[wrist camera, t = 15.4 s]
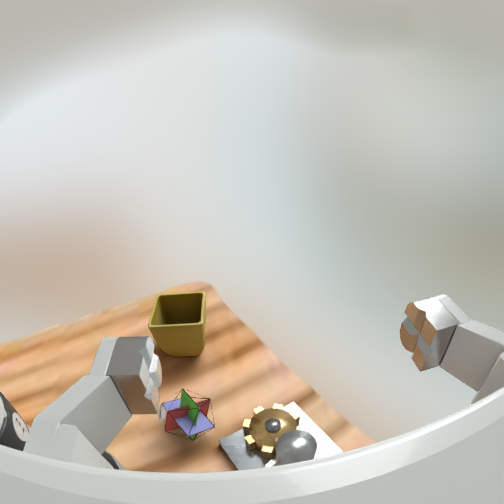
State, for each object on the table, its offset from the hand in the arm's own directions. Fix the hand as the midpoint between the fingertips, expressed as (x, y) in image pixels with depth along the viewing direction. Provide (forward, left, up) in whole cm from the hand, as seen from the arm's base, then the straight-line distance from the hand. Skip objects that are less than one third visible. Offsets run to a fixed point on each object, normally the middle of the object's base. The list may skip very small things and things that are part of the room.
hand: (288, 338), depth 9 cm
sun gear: (+7, +12, -32) cm, 35 cm away
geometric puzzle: (-1, +19, -32) cm, 38 cm away
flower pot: (+5, +35, -32) cm, 48 cm away
